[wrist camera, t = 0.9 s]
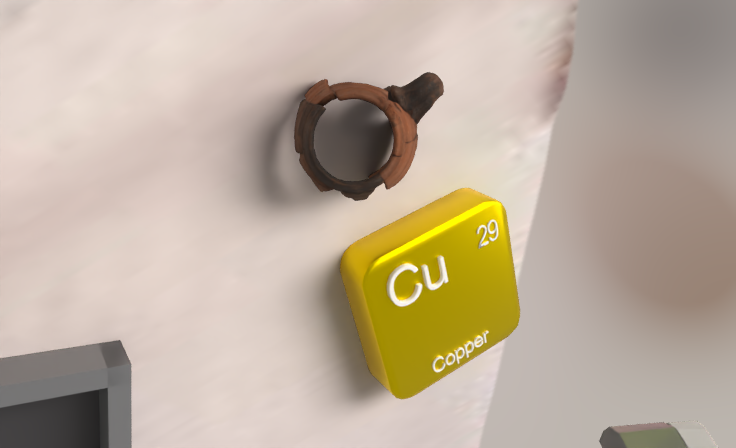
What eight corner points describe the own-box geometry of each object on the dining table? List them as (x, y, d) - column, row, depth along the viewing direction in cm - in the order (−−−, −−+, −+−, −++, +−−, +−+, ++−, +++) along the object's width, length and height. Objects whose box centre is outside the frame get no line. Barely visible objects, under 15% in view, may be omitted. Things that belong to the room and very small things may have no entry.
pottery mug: (352, 212, 56) (352, 233, 48) (272, 127, 54) (258, 133, 46) (462, 112, 54) (481, 116, 46) (383, 22, 53) (389, 10, 45)
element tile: (371, 384, 63) (399, 412, 59) (332, 250, 56) (360, 272, 52) (494, 309, 68) (527, 330, 64) (473, 178, 61) (509, 193, 57)
